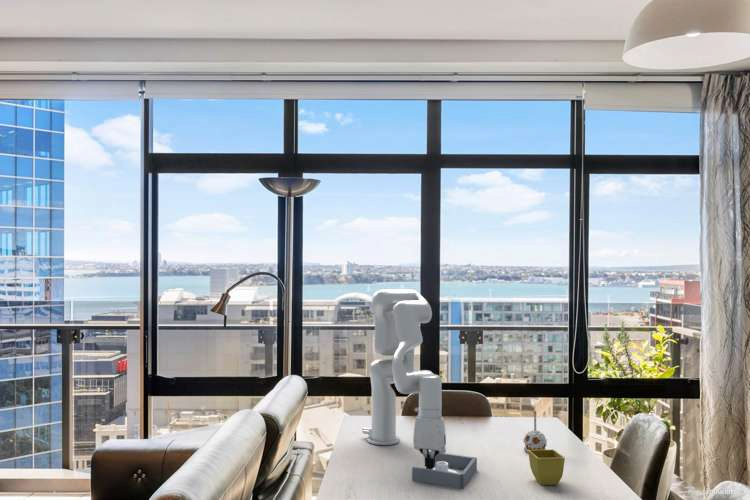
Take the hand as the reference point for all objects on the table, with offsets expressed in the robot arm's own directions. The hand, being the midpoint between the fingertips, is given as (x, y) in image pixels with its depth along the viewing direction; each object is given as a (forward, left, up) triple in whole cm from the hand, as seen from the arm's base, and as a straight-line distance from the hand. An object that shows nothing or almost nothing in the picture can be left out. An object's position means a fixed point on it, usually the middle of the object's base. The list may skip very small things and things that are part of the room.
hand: (429, 469), depth 182 cm
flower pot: (+36, +7, -1) cm, 37 cm away
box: (+5, 0, -1) cm, 5 cm away
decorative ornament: (+29, +37, -1) cm, 47 cm away
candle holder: (+4, -1, -2) cm, 5 cm away
